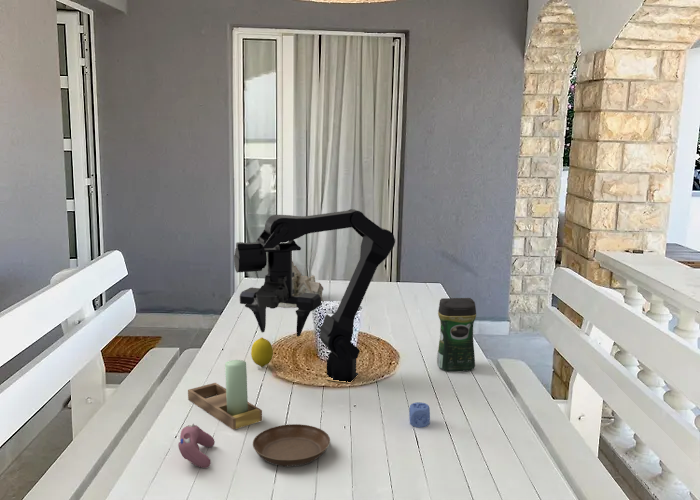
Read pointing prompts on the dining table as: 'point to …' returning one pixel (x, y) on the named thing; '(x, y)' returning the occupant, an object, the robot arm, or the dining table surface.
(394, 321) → the dining table surface
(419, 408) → the decorative dice
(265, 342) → the lemon
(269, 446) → the saucer
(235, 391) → the peg
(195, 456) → the video game controller
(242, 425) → the wooden compartment tray
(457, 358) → the coffee jar
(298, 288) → the ceramic cottage
